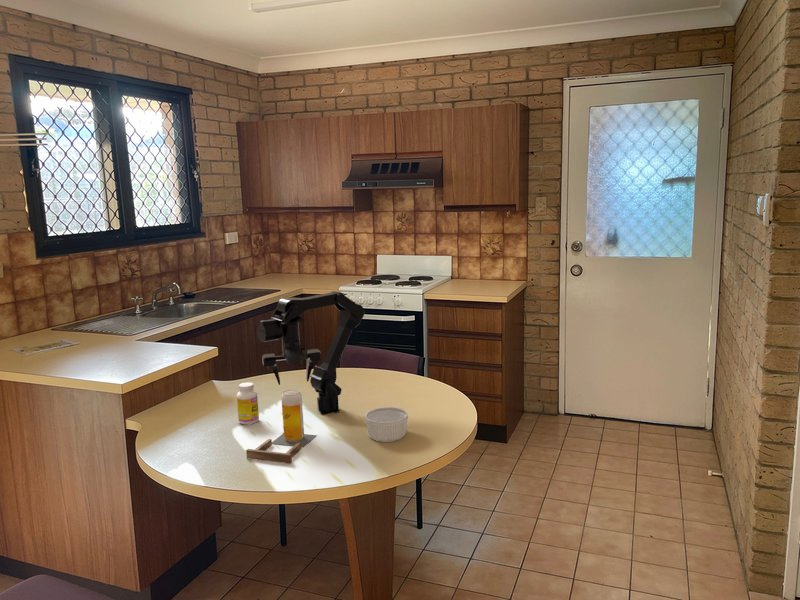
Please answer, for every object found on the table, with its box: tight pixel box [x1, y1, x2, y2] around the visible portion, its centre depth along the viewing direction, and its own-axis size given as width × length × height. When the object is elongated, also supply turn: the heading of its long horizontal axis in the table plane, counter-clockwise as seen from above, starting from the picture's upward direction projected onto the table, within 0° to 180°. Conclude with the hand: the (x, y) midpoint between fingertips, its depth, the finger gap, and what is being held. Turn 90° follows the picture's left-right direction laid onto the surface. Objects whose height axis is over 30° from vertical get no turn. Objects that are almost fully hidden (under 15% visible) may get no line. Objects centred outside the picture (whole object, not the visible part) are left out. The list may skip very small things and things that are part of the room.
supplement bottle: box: [236, 382, 260, 425], centre depth 210 cm, size 7×7×13 cm
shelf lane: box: [245, 438, 303, 465], centre depth 184 cm, size 10×14×2 cm
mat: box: [272, 432, 317, 448], centre depth 194 cm, size 9×11×1 cm
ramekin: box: [364, 406, 409, 443], centre depth 195 cm, size 13×13×7 cm
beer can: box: [280, 388, 305, 442], centre depth 193 cm, size 6×6×15 cm
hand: (293, 382), depth 208 cm, fingers open, 9 cm apart
